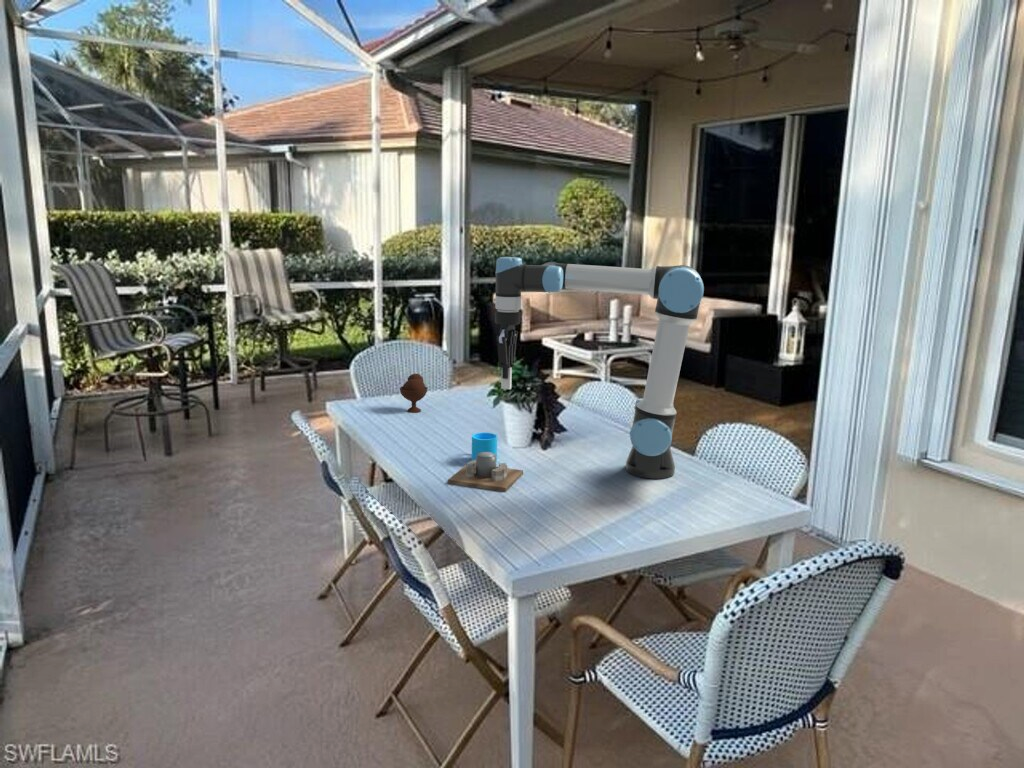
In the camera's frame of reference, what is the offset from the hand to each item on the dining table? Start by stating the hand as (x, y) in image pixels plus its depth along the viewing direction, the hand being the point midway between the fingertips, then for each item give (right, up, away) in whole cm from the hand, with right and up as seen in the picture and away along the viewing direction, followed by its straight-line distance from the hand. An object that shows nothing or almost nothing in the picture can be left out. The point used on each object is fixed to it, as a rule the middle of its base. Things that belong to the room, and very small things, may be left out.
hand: (506, 388), depth 224 cm
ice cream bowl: (-37, -10, +73) cm, 82 cm away
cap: (-6, -26, -1) cm, 27 cm away
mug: (-8, -23, +18) cm, 30 cm away
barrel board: (-6, -27, 0) cm, 28 cm away
